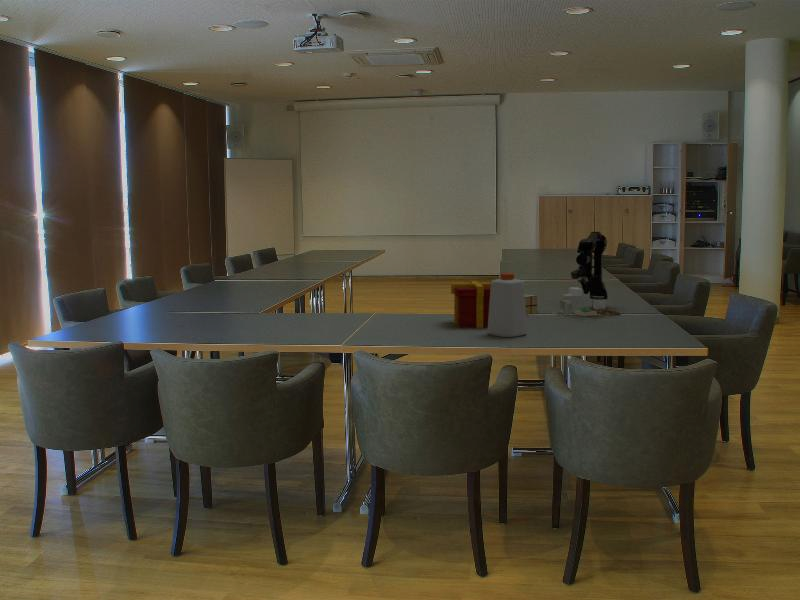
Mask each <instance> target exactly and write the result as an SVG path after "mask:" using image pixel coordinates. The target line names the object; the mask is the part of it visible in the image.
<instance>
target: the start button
mask: <svg viewBox="0 0 800 600" xmlns="http://www.w3.org/2000/svg"><path fill="white" fill-rule="evenodd" d="M590 309H591V308H590V306H581V310H582V312H590Z"/></svg>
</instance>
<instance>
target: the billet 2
mask: <svg viewBox="0 0 800 600" xmlns="http://www.w3.org/2000/svg"><path fill="white" fill-rule="evenodd" d="M606 300H607V299H592V309H593V310H597V311H600V310H605V309H606Z"/></svg>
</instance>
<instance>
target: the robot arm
mask: <svg viewBox="0 0 800 600" xmlns="http://www.w3.org/2000/svg"><path fill="white" fill-rule="evenodd" d="M607 246H608V240H607V238H606V236H605V235H603V234H602V233H601V231H591V232H590V233H589V235H588V236H587V237H586V238H582V239H580V241H579V242H578V246H577V252H576V253H577V254H578V255H577V256H576V258H575V262H576V264H577V265H578V268H577V269H575V270H573V271H570V275H571V276H570V277H571V280H577V282H578V283H580V285H581V289H582V293H583V294H585V295H589V299H590V300H591V299H592V300H593V299H606V300H608V291H607V289H606V288H607V287H606V283H605V282H604V281H603V266H604V265H603V264H604V263H603V259H604V258H603V257H604V256H603V254H604V252H605V251H606V249H607ZM593 255H594V256H593Z"/></svg>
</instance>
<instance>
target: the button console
mask: <svg viewBox="0 0 800 600" xmlns="http://www.w3.org/2000/svg"><path fill="white" fill-rule="evenodd" d="M574 312H575V313H574V315H577V316H581V317H589V316H590V317H591V316H592V317H593V316H597V315H598V314H597V312H596V311H591V310H590V312H582V309H580V310H579V309H578V310H574Z"/></svg>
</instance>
